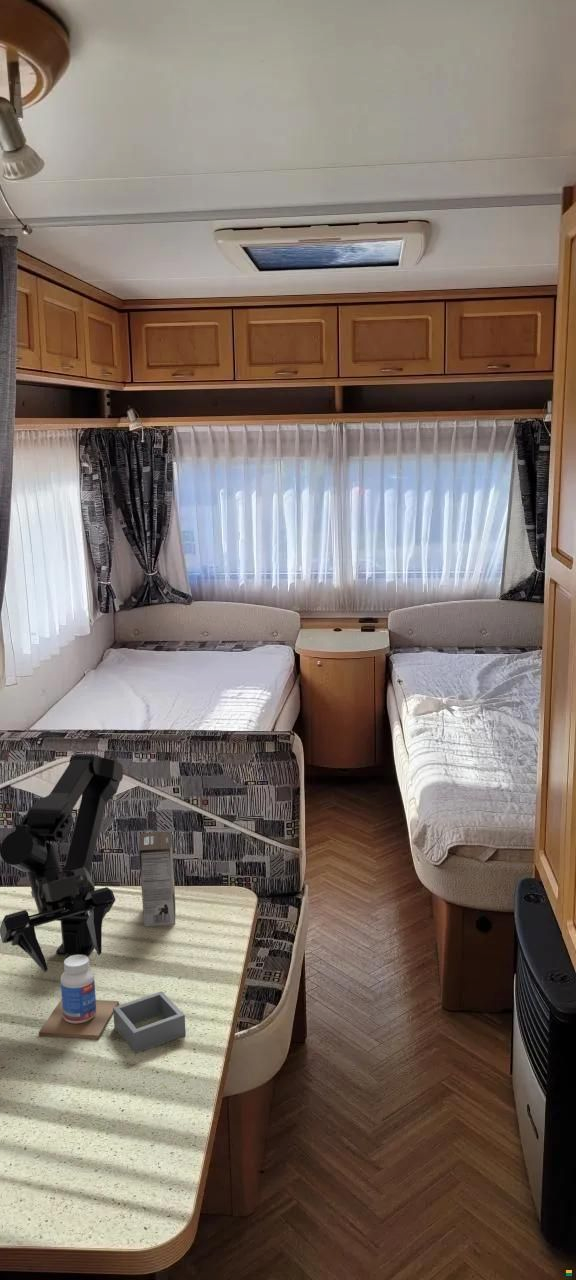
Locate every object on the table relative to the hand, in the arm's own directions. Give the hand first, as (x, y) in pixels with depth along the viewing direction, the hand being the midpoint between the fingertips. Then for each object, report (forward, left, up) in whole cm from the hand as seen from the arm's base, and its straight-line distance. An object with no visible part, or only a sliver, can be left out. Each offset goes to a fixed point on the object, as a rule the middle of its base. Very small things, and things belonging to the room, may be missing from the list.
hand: (73, 962), depth 159 cm
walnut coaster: (+1, +1, -9) cm, 10 cm away
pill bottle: (+1, +1, -9) cm, 9 cm away
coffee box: (-36, +4, -10) cm, 38 cm away
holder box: (+4, +13, -9) cm, 17 cm away
